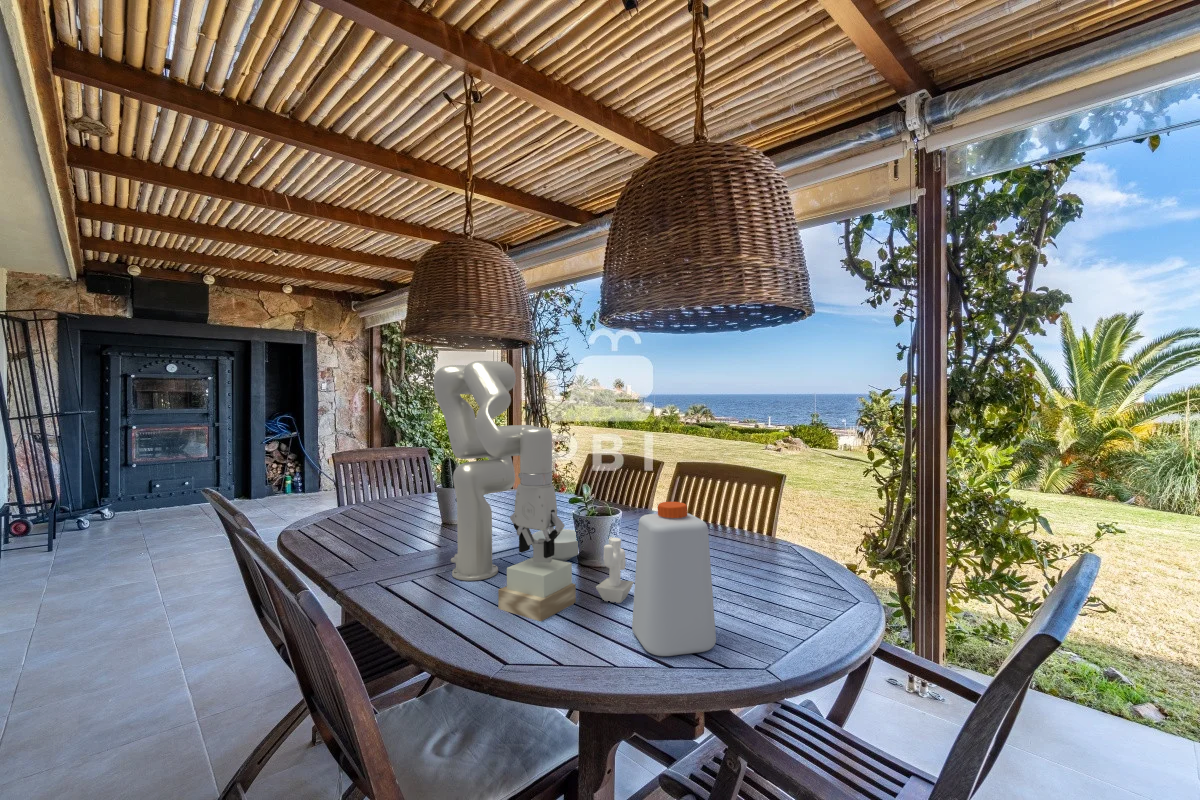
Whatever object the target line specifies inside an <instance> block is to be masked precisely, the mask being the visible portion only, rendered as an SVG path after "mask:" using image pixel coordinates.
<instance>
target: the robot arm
mask: <svg viewBox="0 0 1200 800" xmlns="http://www.w3.org/2000/svg"><path fill="white" fill-rule="evenodd" d="M516 375H517V374H516V372H515V369H514V368H513V367H512V365H511V364H509V363H508V362H505V361H498V360H476V361H471V362H470V363H468V364H465V365H464V364H463V365H462V364H454V365H453V364H452V365H445V366H443V367H440V368H438V370H436V372H435V374H434V378H433V392H434V396H435V399H436V402H437V404H438V406H439V408H440V410H441V412H442V415H443V416H444V420H445V424H446V429H447V433H448V438H449V442H450V448H451V450H452V453H453V455H454V456H455V457H456V458H457V459H459V460H470V461H467V462H463V463H461V464H460V465H458V466H456V468H455V469H454V471H453V475H452V479H453V486H454V487H453V488H454V493H455V499H456V515H457V517H456V518H457V521H456V522H457V525H456V526H457V530H456V531H457V553H455V554H454V557H451V559H450V562H451V563H452V564H453V563H454V564H455V568H453V569H452V572H451V576H452V577H453V578H454V579H456V580H459V581H466V582H467V581H469V582H470V581H480V580H481V581H482V580H486V579H489V578H492V577H494V576H497V574H498V572H499V567H498V566H497V565H495V564H493V511H492V507H491V505H490V503H489V502H488V501H487V499H486V498H485V497H484V496H485V495H489V494H495V493H503V492H508V491H509V490H511V489H512V488H513V487H514V484H515V482H516V473H515V467H514V463H513V459H512V457H515V456H516V457H517V456H519V460H520V461H519V464H520V465H519V467H520V468H519V470H520V471H519V473H518V479H520V481H519V484H518V485H517V488H516V493H515V498H514V499H515V500H514V512H513V513H512V514H511V515H510V517H509V518H510V521H511V523H512V524H513V527H514V529H515V530H516V535H517V536H518V551H519V553H524V552H527V551H529V550H531V549H530V548H531V545H529V546H528V544H527V542H526V540H525V538H524V536H523V533H522V531H521V530H522V529H523V528H529V529H531V530H534V531H535V530H536V531H543V534H544V536H545V539H546V541H544V558H548V557H551V556H553V555H554V551H555V546H554V539H556V538H557V536H558V535H559V534H560V532H561V531H562V529H565V524H564V522H563V521H562V520H561V519H560V518H559V516H558V508H557V507H558V505H557V497H556V492H555V491H556V489H555V486H554V485H553V434H552V431H551V429H550V428H547V427H539V426H538V427H537V426H535V425H531V424H519V425H516V424H515V425H513V424H511V425H499V426H498V425H497V424H496V423H495V422H494V420H493V419H495V418H496V417H498V416H500V415H502V414H503V413H504V412H506V410H507V409H508V408H509V406H510V405H511V403H512V398H511V394H510V393H509V391H512V389H513V388H514V386H515V384H516V381H517V379H516V377H517V376H516ZM461 395H472V398H474V401H475V402H476V404H477V406H478V407H479V409H478V411H477V412H476V413H477V414H476V415H475V411H474V408H473V407H472V406H471V405H470V403H469V402H468V401H466V399H464V398H463V397H462V396H461ZM484 458H487V459H485V460H484ZM471 459H473V461H471ZM474 459H483V460H474ZM548 530H549V531H550V534H549V532H548Z"/></svg>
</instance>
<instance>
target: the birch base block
mask: <svg viewBox="0 0 1200 800" xmlns="http://www.w3.org/2000/svg"><path fill="white" fill-rule="evenodd" d="M576 585H577V584H576V583H573V582H572V584H570V585H568V586H566V587H564V588H562V589H560V590H558V591H557V592H555V593H553V594H551V595H549V596H547V597H545V598H542V597H538V596H534V595H529V594H525V593H521V592H517V591H513V590H509V589H507V585H505V586H504V587H501V588H498V590H497V591H498V595H497V596H498V597H497V599H498V604H497V605H498V607H497V608H498V610H500V611H501V610H502V611H505V612H507V613H511V614H513V615H517V616H521V617H524V618H528V619H530V620H534V621H538V622H543V621H545V620H546V619H549V618H550V617H552V616H554V615H555V614H558V613H560V612H562V611H563V610H566V609H567V608H569V607H571V606H573V605H574V603H575V604H576V603H577V602H576V599H577V597H576V596H577V594H576V592H577V591H576V590H577V589H576V587H577V586H576Z"/></svg>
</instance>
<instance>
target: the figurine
mask: <svg viewBox="0 0 1200 800" xmlns="http://www.w3.org/2000/svg"><path fill="white" fill-rule="evenodd" d="M621 545H622V539H621V538H619V537H613V536H610V537H609V538H608V544H605V545H604V546H603V563H604V566H605V567H606V568H608V569H609V570H608V571H609V573H608V574H609V577H607V578H605V579H604V580H603V581H601V582H600V583H599V584H598V585H596V586H595V588H596V589H595V590H596V591H597V592H598V594H599V595H600V597H601V599H602V601H603V600H604V601H603V602H608V601H610V602H609V603H614V602H616V603H615V604H621V603H622V602H624V600H625V599H626V598H627V597H628V596H629V593H630V592H631V588H632V587H633V585H634V584H635V581H632V580H626V579H621V578H622V576H621V571H623V570H625V569H626V552H625V549H624V548H621V547H622V546H621Z"/></svg>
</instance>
